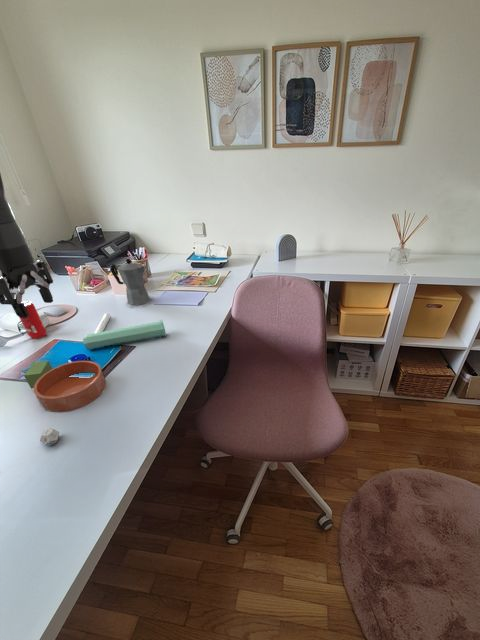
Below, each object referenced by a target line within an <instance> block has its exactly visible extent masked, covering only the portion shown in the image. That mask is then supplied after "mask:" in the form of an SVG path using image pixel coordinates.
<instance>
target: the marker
mask: <svg viewBox="0 0 480 640" xmlns="http://www.w3.org/2000/svg"><path fill="white" fill-rule="evenodd" d="M110 318H111V313H109V312H106V313H104V315H103V317H102V319H101V320H100V322H99V324H98V326H97V327H96V329H95V331H94V333H99V332H104V331H105V328H106V326H107V324H108V323H109V320H110Z"/></svg>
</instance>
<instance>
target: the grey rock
mask: <svg viewBox="0 0 480 640" xmlns="http://www.w3.org/2000/svg"><path fill="white" fill-rule="evenodd" d="M59 435H60V431H58V430H56V429H55V428H52V427H49V428H47V429H44V430H42V432H41V436H40V443H42V444H44V445H46V446H53V445H54V444H57V443H58V440H59Z"/></svg>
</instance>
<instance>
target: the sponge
mask: <svg viewBox="0 0 480 640" xmlns="http://www.w3.org/2000/svg"><path fill="white" fill-rule="evenodd" d="M53 368H54V367H52V365H51V363H50V360H42V361H33V362H32V363H31V364H30V365H29V367H28V368H27V369H26V372H25V373H24V375H23V377H24V379H25V380H26V383H27V384H28V385H29V387H30V389H34V385H35V383H36V381H37V380H38V379H39V378H40V377H41V376H42V375H43V374H45V373H46V372H48V371H50V370H51V369H53Z"/></svg>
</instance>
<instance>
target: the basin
mask: <svg viewBox="0 0 480 640" xmlns="http://www.w3.org/2000/svg"><path fill="white" fill-rule="evenodd" d="M52 368H53V369H51V370H50V371H48V372H46V373H45V374H43V375H42V376H41V377H40V378H39V379H38V380H37V381H36V383H35V385H34V388H33V393H34V395H35V397H36V398H37V400H38V402H39V404H40V405H41V407H42V408H43V409H45V410H46V411H49V412H53V413H63V412H64V413H65V412H71V411H73V410H77V409H80V408H82V407H85V406H87V405H88V404H90V403H93V402H94V401H95V400H96V399H97V398H98V397H100V396H101V395H102V394H103V393H104V391H105V390H106V387H107V379H106V377H105V374H104V372H103V369H102V366H101V365H100V364H99V363H97V362H95V361H92V360H74V361H70V362H66V363H62V364H60V365H57V366H56V367H52ZM79 373H95V375H94V376H93V377H91V378H79V377H69V376H71V375H74V374H79Z"/></svg>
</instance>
